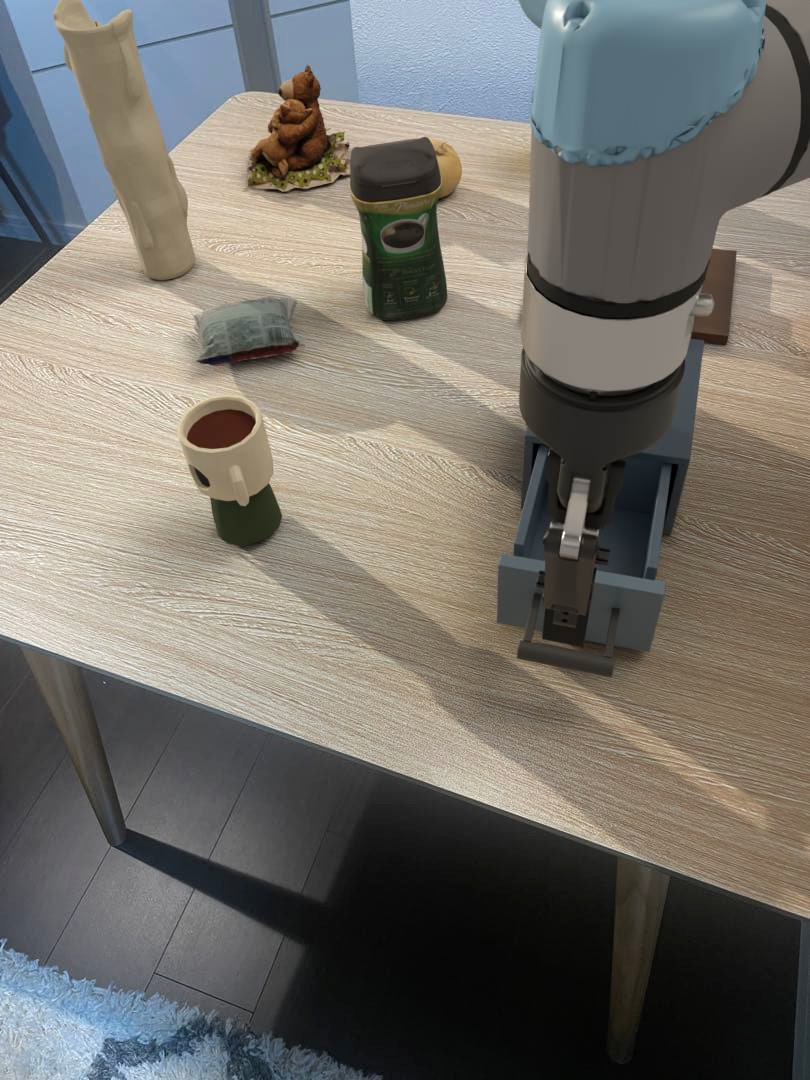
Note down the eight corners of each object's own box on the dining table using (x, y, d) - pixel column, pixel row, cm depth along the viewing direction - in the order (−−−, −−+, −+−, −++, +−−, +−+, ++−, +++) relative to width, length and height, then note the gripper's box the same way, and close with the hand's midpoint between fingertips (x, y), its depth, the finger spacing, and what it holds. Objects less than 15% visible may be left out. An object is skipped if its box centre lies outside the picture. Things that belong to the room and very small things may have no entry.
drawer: (640, 716, 69) (656, 662, 63) (480, 683, 72) (481, 627, 66) (667, 518, 82) (681, 456, 76) (529, 496, 84) (533, 435, 78)
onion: (394, 203, 120) (390, 151, 114) (411, 172, 124) (408, 121, 119) (453, 209, 118) (452, 157, 112) (468, 178, 122) (468, 126, 117)
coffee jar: (439, 275, 109) (433, 121, 94) (452, 315, 104) (448, 159, 89) (359, 287, 108) (341, 134, 94) (368, 328, 103) (350, 173, 89)
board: (734, 259, 107) (736, 250, 106) (726, 344, 97) (729, 335, 97) (548, 241, 112) (548, 232, 111) (522, 320, 102) (523, 311, 101)
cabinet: (671, 535, 81) (690, 459, 74) (520, 510, 84) (524, 435, 77) (686, 417, 91) (704, 340, 83) (550, 399, 94) (555, 322, 86)
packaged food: (197, 330, 105) (186, 295, 101) (299, 313, 106) (292, 277, 102) (200, 380, 99) (190, 344, 96) (308, 361, 100) (302, 325, 96)
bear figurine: (241, 151, 131) (223, 63, 122) (345, 136, 132) (334, 47, 123) (248, 200, 122) (229, 109, 113) (359, 183, 123) (349, 92, 114)
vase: (123, 264, 114) (33, 4, 91) (180, 236, 118) (108, -22, 95) (159, 292, 110) (74, 26, 87) (218, 262, 113) (151, -1, 90)
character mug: (201, 495, 88) (165, 393, 78) (272, 475, 89) (246, 371, 79) (224, 579, 81) (188, 478, 71) (301, 555, 83) (276, 453, 73)
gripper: (674, 458, 37) (608, 733, 55) (698, 275, 45) (633, 568, 63) (493, 431, 39) (487, 707, 57) (547, 259, 47) (526, 549, 65)
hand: (564, 633), depth 60 cm, fingers closed
